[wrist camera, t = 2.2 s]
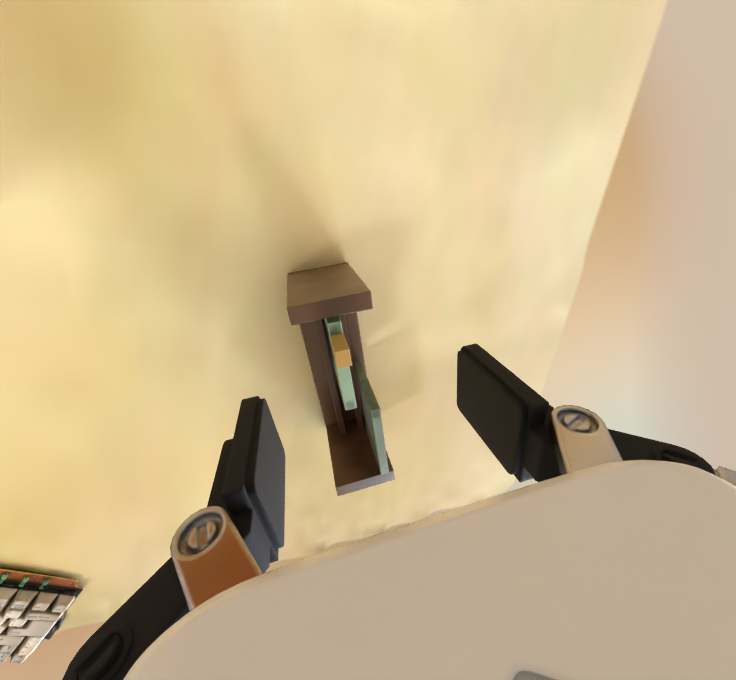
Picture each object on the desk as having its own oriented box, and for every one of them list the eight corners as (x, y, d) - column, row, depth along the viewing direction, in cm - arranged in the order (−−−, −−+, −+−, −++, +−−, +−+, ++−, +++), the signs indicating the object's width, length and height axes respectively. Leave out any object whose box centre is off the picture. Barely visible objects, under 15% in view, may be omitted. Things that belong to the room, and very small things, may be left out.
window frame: (327, 428, 45) (338, 497, 35) (287, 273, 34) (286, 308, 24) (371, 416, 46) (395, 480, 36) (347, 262, 35) (370, 291, 25)
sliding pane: (332, 361, 39) (350, 432, 27) (317, 290, 34) (331, 339, 23) (341, 359, 39) (363, 428, 28) (327, 288, 34) (347, 336, 23)
